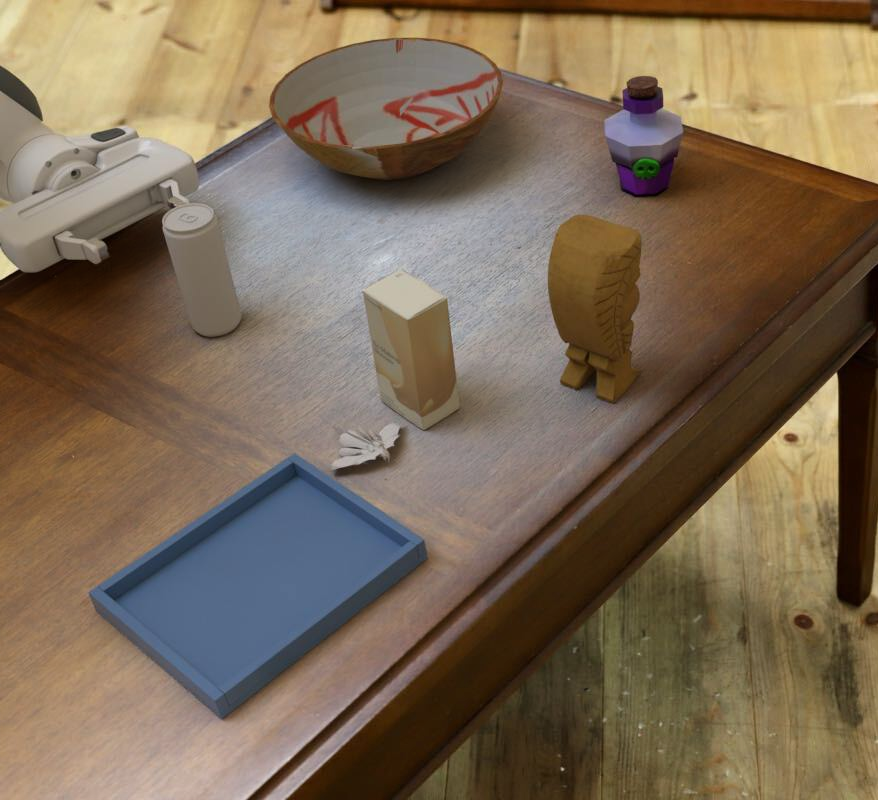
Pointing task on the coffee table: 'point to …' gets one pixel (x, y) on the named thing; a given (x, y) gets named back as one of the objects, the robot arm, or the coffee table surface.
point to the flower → (365, 445)
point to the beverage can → (202, 269)
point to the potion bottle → (643, 139)
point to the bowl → (387, 105)
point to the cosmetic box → (412, 348)
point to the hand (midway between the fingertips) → (144, 232)
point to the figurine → (595, 301)
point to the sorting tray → (257, 582)
